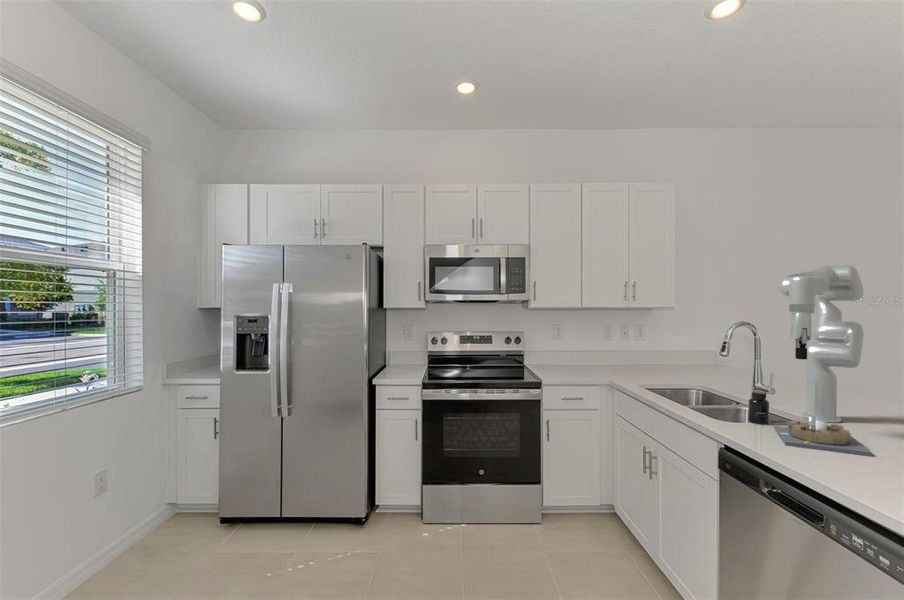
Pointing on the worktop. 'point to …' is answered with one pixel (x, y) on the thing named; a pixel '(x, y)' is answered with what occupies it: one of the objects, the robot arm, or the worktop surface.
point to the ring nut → (819, 432)
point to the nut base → (849, 448)
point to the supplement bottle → (758, 409)
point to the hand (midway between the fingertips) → (801, 358)
